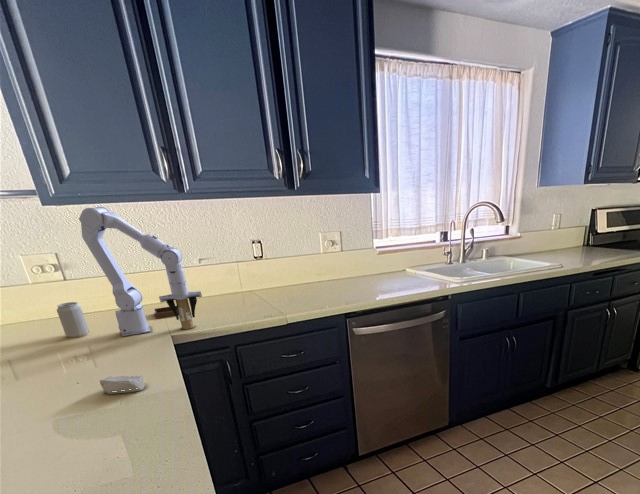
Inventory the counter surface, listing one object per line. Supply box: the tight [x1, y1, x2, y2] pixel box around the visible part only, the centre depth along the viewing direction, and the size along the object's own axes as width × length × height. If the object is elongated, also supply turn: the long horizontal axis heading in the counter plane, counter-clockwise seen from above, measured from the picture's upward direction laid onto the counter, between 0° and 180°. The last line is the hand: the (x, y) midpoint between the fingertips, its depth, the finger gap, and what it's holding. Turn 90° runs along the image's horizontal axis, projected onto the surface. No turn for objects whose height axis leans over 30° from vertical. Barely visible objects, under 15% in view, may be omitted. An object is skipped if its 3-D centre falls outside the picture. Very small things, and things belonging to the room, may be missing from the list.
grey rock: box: [99, 375, 146, 395], centre depth 115 cm, size 10×6×6 cm, turn 91°
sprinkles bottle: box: [174, 297, 195, 330], centre depth 163 cm, size 5×5×14 cm
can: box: [56, 301, 90, 339], centre depth 158 cm, size 8×8×12 cm
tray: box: [154, 305, 179, 319], centre depth 184 cm, size 11×9×2 cm
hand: (185, 318), depth 164 cm, fingers open, 5 cm apart
